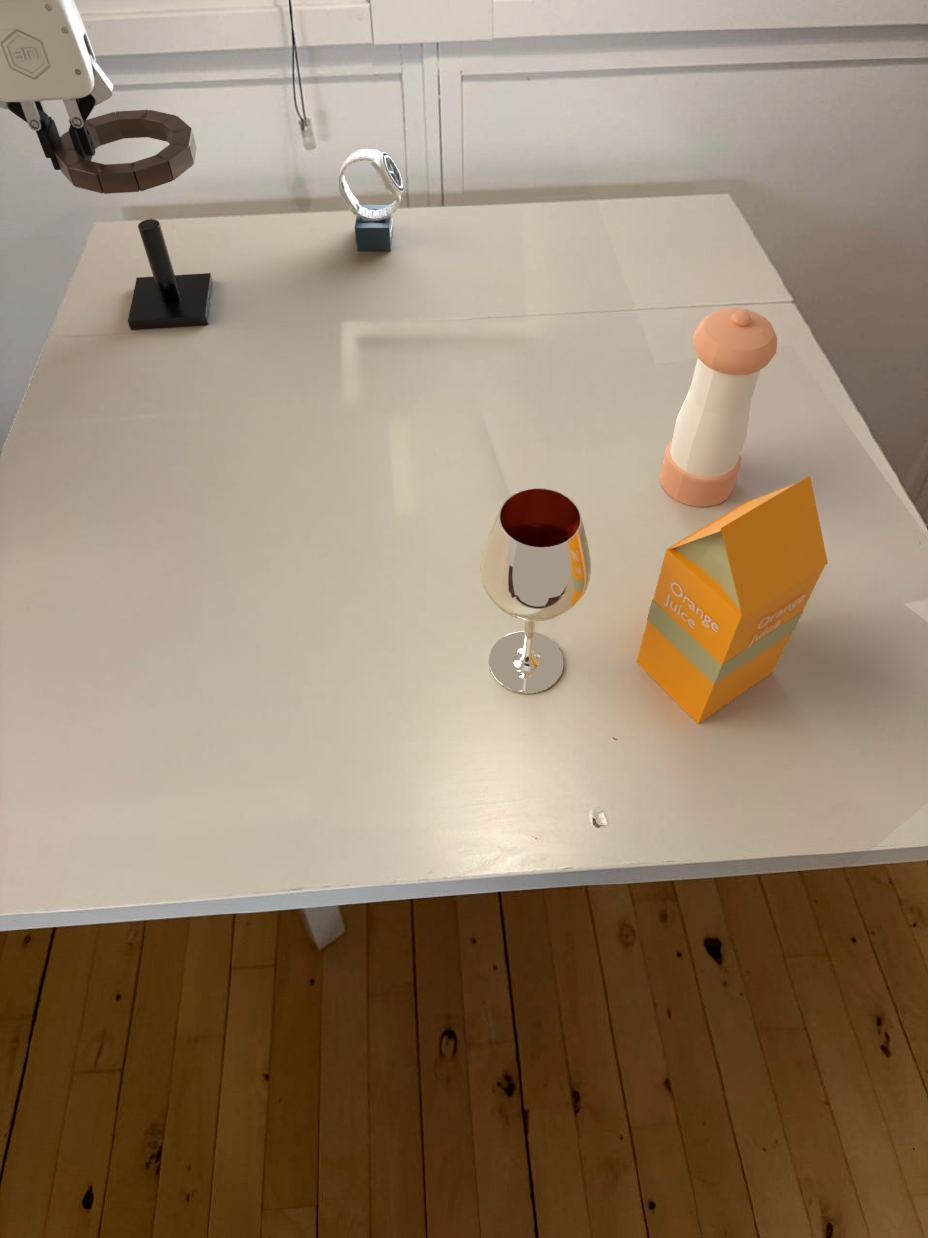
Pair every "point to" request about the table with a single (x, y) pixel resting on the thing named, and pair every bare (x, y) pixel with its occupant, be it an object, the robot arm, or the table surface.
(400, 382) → the table surface
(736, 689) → the orange juice
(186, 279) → the post
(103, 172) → the ring
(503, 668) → the wineglass
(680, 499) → the pepper shaker
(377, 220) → the watch
